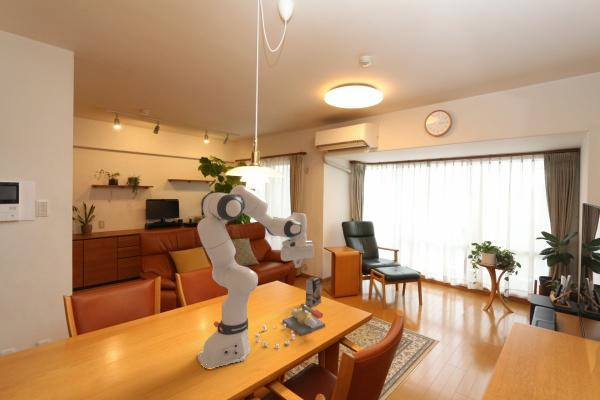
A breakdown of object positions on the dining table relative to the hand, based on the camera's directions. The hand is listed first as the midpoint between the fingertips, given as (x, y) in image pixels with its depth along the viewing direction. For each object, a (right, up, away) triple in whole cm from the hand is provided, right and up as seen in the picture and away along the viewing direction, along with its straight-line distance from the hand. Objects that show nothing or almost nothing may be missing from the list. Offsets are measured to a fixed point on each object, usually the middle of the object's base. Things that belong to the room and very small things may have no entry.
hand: (297, 267), depth 148 cm
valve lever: (+7, -22, -6) cm, 24 cm away
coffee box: (+10, -30, +27) cm, 42 cm away
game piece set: (-11, -32, -14) cm, 36 cm away
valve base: (+3, -31, -1) cm, 31 cm away
